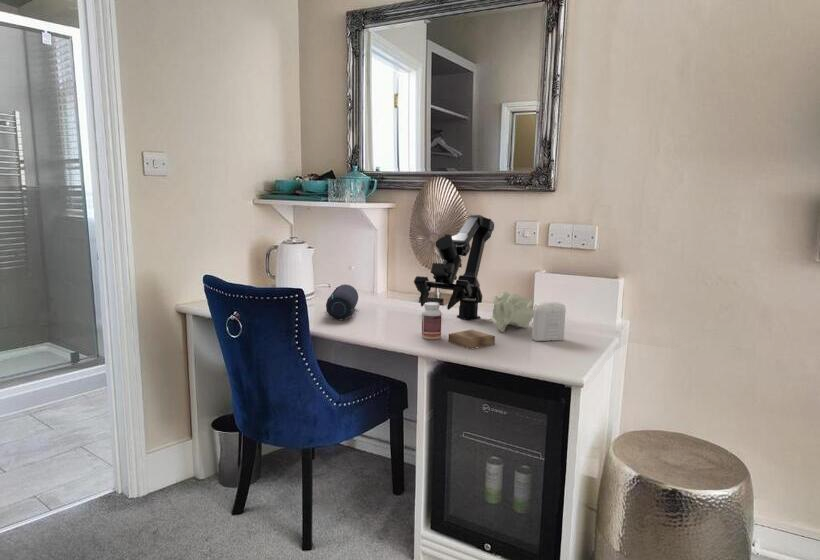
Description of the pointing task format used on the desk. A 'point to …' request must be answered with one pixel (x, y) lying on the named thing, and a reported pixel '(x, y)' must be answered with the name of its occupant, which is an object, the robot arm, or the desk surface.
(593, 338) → the desk surface
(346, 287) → the portable speaker
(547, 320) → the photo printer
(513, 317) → the wavy plaster lump
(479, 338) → the plinth
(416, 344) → the desk surface
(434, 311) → the pill bottle
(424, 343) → the desk surface
